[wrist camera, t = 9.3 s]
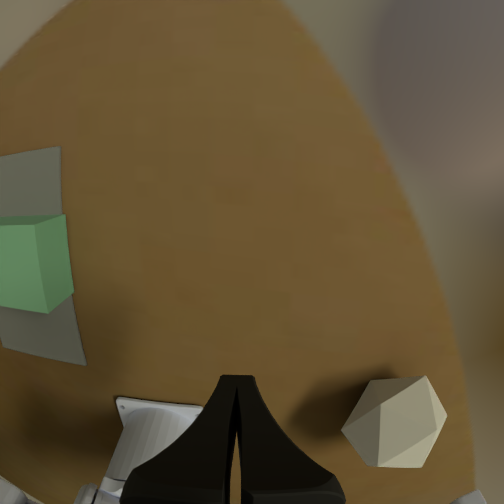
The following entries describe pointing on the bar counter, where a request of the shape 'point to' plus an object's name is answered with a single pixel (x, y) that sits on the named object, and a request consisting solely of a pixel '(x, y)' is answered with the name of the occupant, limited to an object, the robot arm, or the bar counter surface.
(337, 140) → the bar counter surface
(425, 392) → the die
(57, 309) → the mat
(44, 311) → the block
